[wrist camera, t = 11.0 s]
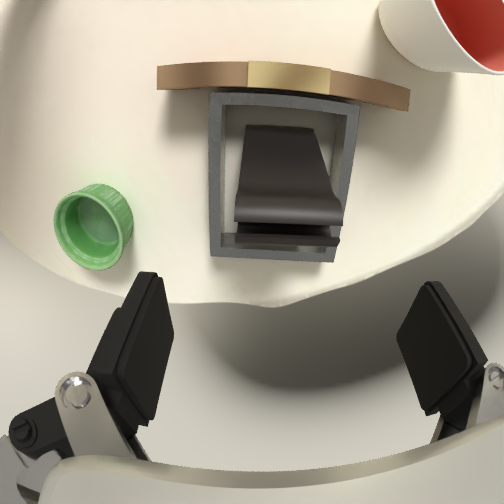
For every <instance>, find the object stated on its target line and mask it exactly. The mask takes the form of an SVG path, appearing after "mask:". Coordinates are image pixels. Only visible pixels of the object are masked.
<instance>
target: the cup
mask: <svg viewBox="0 0 504 504" xmlns="http://www.w3.org/2000/svg"><path fill="white" fill-rule="evenodd" d="M378 11H379V18H380V22H381V25H382V28H383V30H384V32H385V34H386V36H387V38H388V39H389V41H390V42H391V44H392V45H393V46H394V47H395V49H396V50H397V51H398V52H399V53H400V54H401V55H402V56H403V57H405V58H406V59H407V60H408V61H410V62H411V63H413V64H414V65H416V66H418V67H420V68H423V69H425V70H428V71H433V72H463V73H480V74H491V75H504V1H503V0H380V2H379V8H378Z"/></svg>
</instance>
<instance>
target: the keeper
mask: <svg viewBox="0 0 504 504" xmlns="http://www.w3.org/2000/svg"><path fill="white" fill-rule="evenodd" d="M226 105H258V106H275V107H287V108H297V109H307V110H315V111H322V112H329V113H336V114H338V117H337V126H336V135H335V144H334V152H333V160H332V167H331V174H330V184H331V187H332V190H333V193H334V194H335V196H336V197H337V198H338V199H339V200H340V202H341V205H342V211H343V216H344V211H345V206H346V200H347V195H348V189H349V183H350V177H351V171H352V165H353V158H354V151H355V144H356V137H357V129H358V120H359V111H360V106H357V105H352V104H347V103H341V102H335V101H329V100H322V99H314V98H306V97H298V96H287V95H275V94H259V93H209V223H210V253H211V256H218V257H236V258H255V259H274V260H294V261H313V262H334V258H335V254H336V249H337V247H316V246H289V245H259V244H235V233H224V193H225V130H226ZM330 230H331V237H339V236H340V231H341V226H330Z"/></svg>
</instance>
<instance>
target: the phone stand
mask: <svg viewBox="0 0 504 504" xmlns="http://www.w3.org/2000/svg"><path fill="white" fill-rule="evenodd" d="M234 222H238V228H237V233H235V244H259V245H289V246H316V247H337V246H338V244H339V242H340V239H339V237H331V230H330V226H343V211H342V205H341V202H340V200H339V199H338V198H337V197H336V196H335V194H334V193H333V190H332V187H331V184H330V180H329V177H328V173H327V170H326V167H325V163H324V160H323V157H322V154H321V151H320V147H319V144H318V141H317V138H316V135H315V132H314V129H311V128H299V127H284V126H263V125H246V130H245V138H244V146H243V154H242V162H241V170H240V179H239V187H238V192H237V194H236V201H235V217H234Z"/></svg>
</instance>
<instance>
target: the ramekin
mask: <svg viewBox="0 0 504 504" xmlns="http://www.w3.org/2000/svg"><path fill="white" fill-rule="evenodd" d="M132 228H133V216H132V212H131V209H130V207H129V205H128V203H127V201H126V200H125V198H124V197H123V196H122V195H121V194H120V193H119V192H118V191H117V190H115V189H114V188H112V187H110V186H108V185H104V184H93V185H89V186H87V187H85V188H83V189H81V190H79V191H77V192H73V193H71V194H68V195H67V196H65V197H64V198H63V199H62V200H61V201H60V202H59V203H58V205H57V207H56V209H55V213H54V229H55V233H56V236H57V239H58V241H59V243H60V245H61V247H62V249H63V250H64V251H65V253H66V254H67V255H68V256H69V257H70V258H71V259H72V260H73V261H74V262H76V263H77V264H79V265H81V266H83V267H85V268H88V269H91V270H105V269H108V268H110V267H112V266H113V265H114V264H115V263H116V262H117V261H118V260H119V258H120V256H121V254H122V252H123V248H124V246H125V244H126V243H127V241H128V239H129V237H130V235H131V232H132Z"/></svg>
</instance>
